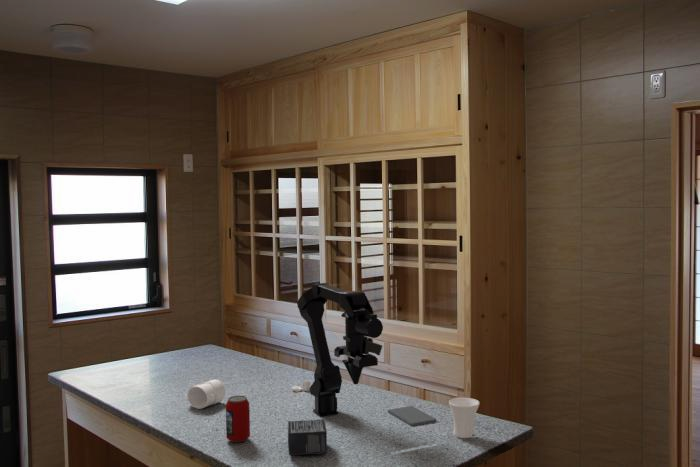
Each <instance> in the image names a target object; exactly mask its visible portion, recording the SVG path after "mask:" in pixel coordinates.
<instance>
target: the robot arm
mask: <svg viewBox="0 0 700 467" xmlns="http://www.w3.org/2000/svg"><path fill="white" fill-rule="evenodd" d="M328 300H329V301H331V302H333V303H336V304H337V305H338V306H339V308H340V309H342V310H343V311H344V312H342V313H341V317H342V318H344V320H345V322H344V323H345V329H344V330H345V332H344V333H345V335H343V336H342V340H344V341H345V345H340V346H336V347H335V348H334V349H333V352H334V355H333V356H334V357H336V358H340V357H341V356H344V359H342V360H341V362H342V363H343V365H344V366H345V369H346V371H347V372H348V375H349V377H350V379H351V381H352V383H353V384H354V385H358V384H359V381H360V378H361V375H362V372H363V369H364V368H368V367H375V366H378V365H379V359H378V357H377V356H380V355H381V353H382V348H383V345H382V344H379V343H376V342H374V340H373V339H376V338H379V337H380V336H381V335H382V334H383V329H384V325H383V323H382V320H380V319H379V318H378V314H377V313H376V314H375V312H374V310H373V307H372V305H371V303H370V301H369V299H368V297H367V295H366V293H365V292H364V291H363V290H346V289H343V288H340V287H336V286H333V285H331V284H329V283H327V282H321V283H315V284H313V285H312V286H311V287H310V288H309V289H307V291H305V292H303V293H302V294H301V296H300V297H299V299H298V300H297V308H298V310H299V314H300V316H301V318H303V320H304V321H305V322H306V324H307V328H308V332H309V336H310V341H311V345H312V350H313V354H314V355H313V356H314V359H315V363H316V367H315V371H314V373H313V376H314V377H313V378H314V381H312V384H310V390H309V394H310V395H311V396H313V397H314V408H313V409H312V411H313V412H314V413H315V414H316V415H318V416H319V417H325V416H331V415H336V414H339V411H338V398H337V394H340V392H341V388H342V383H343V379H342V378H343V376H342V375H341V370H340V369H341V368H340V366H339V365H336V364H334V363H333V360H332V358H331V353H330V350H329V348H330V347H329V345H328V341H327V336H326V332H325V327H324V323H323V317H324V316H323V315H324V313H325V304H326V303H327V302H328ZM371 353H372V354H371ZM374 354H375V355H374ZM376 355H377V356H376Z"/></svg>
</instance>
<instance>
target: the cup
mask: <svg viewBox="0 0 700 467" xmlns="http://www.w3.org/2000/svg"><path fill="white" fill-rule="evenodd" d="M480 403H481V402H480V401H479V400H477V399H475V398H471V397H455V398H451V399H450V400H449V401H448V404H449V406H450V410H451V415H452V418H453V420H452V421H453V435H454V437H456V438H460V439H469V438H472V437H473V435H474V423H475V422H474V420H475V418H476V415H477V411H478V409H479V407H480Z"/></svg>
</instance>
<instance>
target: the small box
mask: <svg viewBox="0 0 700 467" xmlns="http://www.w3.org/2000/svg"><path fill="white" fill-rule="evenodd" d="M327 435H328V434H327V428H326V422H325V419H312V420H311V419H309V420H289V421H288V422H287V444H288V445H287V446H288V447H287V448H288V455H289V456H291V455H293V456H295V455H296V456H297V455H314V454H315V455H317V454H327V453H328V451H327V450H328V448H327V447H328V446H327V444H328V443H327V442H328V440H327V439H328V438H327Z"/></svg>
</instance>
